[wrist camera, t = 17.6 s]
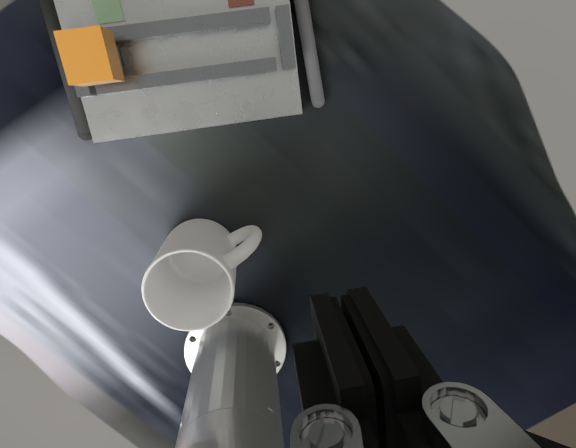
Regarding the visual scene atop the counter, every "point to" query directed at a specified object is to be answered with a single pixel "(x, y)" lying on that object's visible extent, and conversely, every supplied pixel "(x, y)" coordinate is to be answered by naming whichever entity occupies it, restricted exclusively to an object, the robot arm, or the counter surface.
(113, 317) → the counter surface
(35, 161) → the counter surface
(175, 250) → the mug
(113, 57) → the orange block
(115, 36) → the slider switch board
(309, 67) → the grey rounded rod
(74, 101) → the grey bar
